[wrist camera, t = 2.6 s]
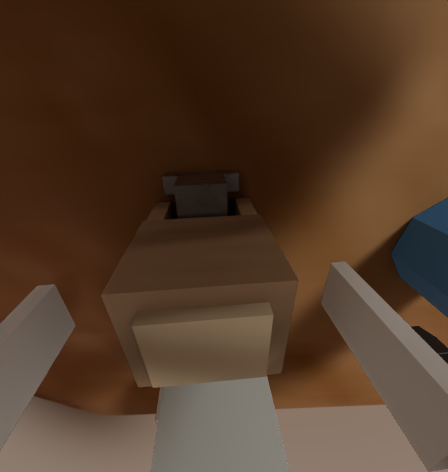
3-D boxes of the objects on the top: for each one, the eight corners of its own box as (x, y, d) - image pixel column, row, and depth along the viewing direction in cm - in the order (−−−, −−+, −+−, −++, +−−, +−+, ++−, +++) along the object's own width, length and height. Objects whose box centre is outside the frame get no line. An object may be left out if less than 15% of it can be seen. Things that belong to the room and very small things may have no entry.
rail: (163, 173, 15) (155, 186, 12) (237, 170, 15) (244, 182, 12) (190, 342, 24) (188, 371, 21) (236, 338, 24) (240, 366, 21)
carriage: (153, 202, 15) (92, 308, 7) (251, 197, 16) (304, 291, 7) (166, 270, 18) (134, 401, 10) (249, 264, 19) (285, 386, 10)
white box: (164, 351, 24) (134, 534, 14) (259, 342, 25) (299, 512, 14) (174, 389, 28) (157, 555, 17) (255, 381, 28) (285, 537, 18)
